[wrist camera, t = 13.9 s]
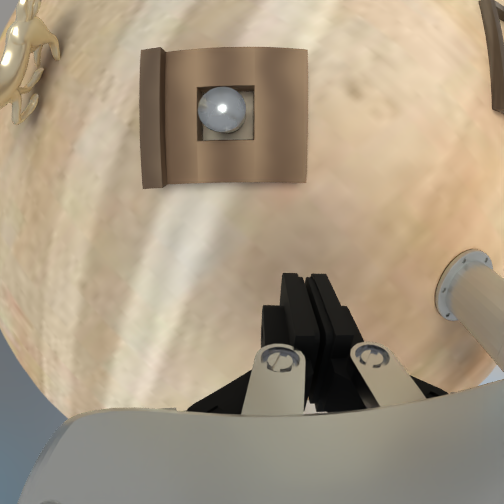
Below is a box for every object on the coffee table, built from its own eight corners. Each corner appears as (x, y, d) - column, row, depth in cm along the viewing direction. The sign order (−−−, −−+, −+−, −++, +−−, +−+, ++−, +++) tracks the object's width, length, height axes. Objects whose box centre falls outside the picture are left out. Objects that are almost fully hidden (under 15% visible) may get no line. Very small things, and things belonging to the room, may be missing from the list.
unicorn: (68, 2, 22) (-8, -37, 7) (89, 3, 23) (13, -44, 7) (18, 135, 29) (-74, 153, 13) (35, 141, 30) (-60, 160, 14)
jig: (300, 58, 28) (311, 44, 22) (299, 177, 33) (310, 186, 28) (157, 62, 28) (140, 50, 22) (159, 179, 33) (142, 188, 27)
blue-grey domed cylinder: (245, 97, 30) (245, 86, 22) (245, 132, 31) (245, 131, 24) (208, 98, 30) (197, 88, 22) (209, 133, 31) (198, 132, 24)
